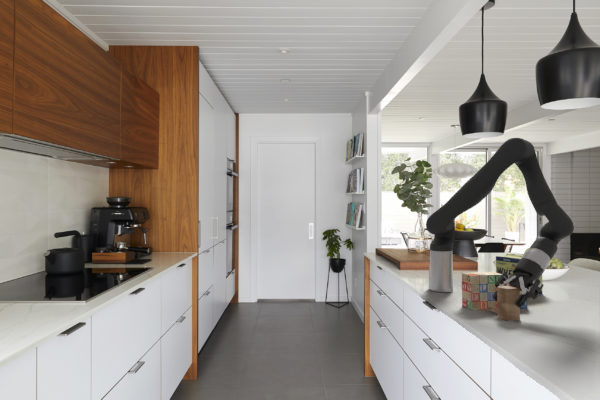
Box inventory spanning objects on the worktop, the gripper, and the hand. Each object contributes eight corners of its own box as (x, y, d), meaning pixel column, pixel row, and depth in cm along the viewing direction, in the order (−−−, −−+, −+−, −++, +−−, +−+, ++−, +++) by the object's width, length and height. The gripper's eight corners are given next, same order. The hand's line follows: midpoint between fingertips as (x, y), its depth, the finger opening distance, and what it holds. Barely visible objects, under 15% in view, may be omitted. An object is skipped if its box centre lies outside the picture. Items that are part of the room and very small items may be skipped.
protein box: (495, 293, 160) (495, 256, 160) (518, 289, 167) (518, 253, 167) (519, 298, 150) (519, 258, 151) (543, 294, 158) (542, 256, 158)
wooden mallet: (483, 312, 130) (483, 283, 130) (494, 311, 132) (494, 282, 132) (507, 321, 120) (507, 289, 121) (520, 319, 122) (519, 288, 122)
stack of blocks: (515, 304, 142) (515, 270, 143) (527, 308, 136) (527, 273, 137) (461, 306, 140) (461, 272, 140) (471, 310, 134) (471, 275, 134)
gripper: (508, 254, 133) (482, 290, 129) (546, 260, 119) (518, 300, 115) (519, 269, 134) (494, 305, 130) (558, 276, 121) (532, 316, 117)
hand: (505, 302), depth 123 cm, fingers open, 8 cm apart
